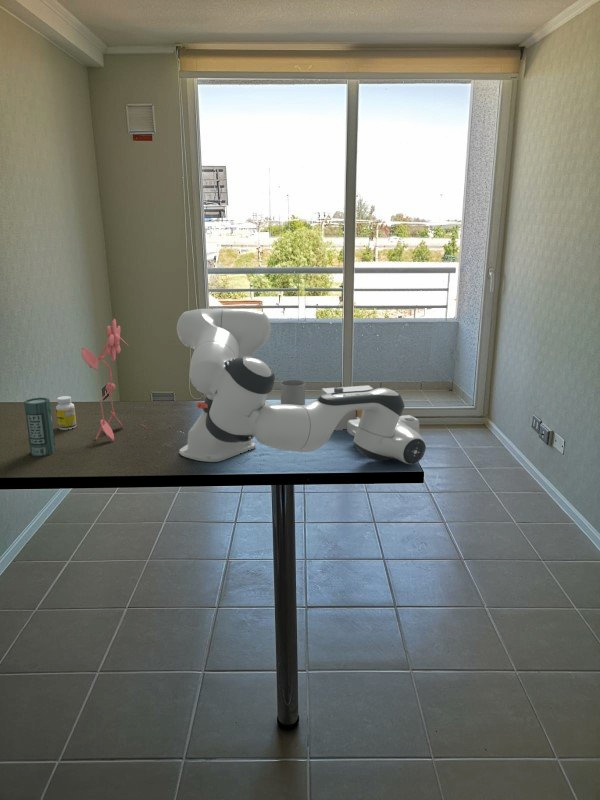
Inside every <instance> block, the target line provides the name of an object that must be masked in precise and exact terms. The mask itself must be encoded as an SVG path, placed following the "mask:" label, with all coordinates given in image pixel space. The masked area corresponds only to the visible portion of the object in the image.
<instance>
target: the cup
mask: <svg viewBox="0 0 600 800" xmlns="http://www.w3.org/2000/svg"><path fill="white" fill-rule="evenodd" d="M280 404H293V405H306V381H303V380H299V379H286V380H282V381H281V382H280Z"/></svg>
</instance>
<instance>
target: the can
mask: <svg viewBox="0 0 600 800" xmlns="http://www.w3.org/2000/svg"><path fill="white" fill-rule="evenodd" d="M23 403H24V404H23V405H24V410H25V411H24V412H25V420H26V426H27V434H28V435H27V436H28V442H29V449H30V455H31V456H34V457H46V456H49V455H50V456H51V454H52V455H53V454H54V453H55V452H56V443H55V434H54V427H53V425H54V424H53V419H52V411H51V401H50V398H48V397H33V398H29V399H26V400H24V401H23Z"/></svg>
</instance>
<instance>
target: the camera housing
mask: <svg viewBox="0 0 600 800" xmlns="http://www.w3.org/2000/svg"><path fill="white" fill-rule="evenodd" d="M370 389H374V388H373V387H372V386H371V385H358V386H357V385H355V386H340V387H327V388H325V387H323V388H321V395H323V394H328V393H336V392H349V391H364V390H370ZM356 417H357V410H352V411H349V412H348V413H346V414H345V415H344V416H343V418H342V419H341V420H340V422H339V423H338V425H337V426H336V428H335V429H334V430H336V431H344V430H343V429H347V422H348V421H349V420H355V419H356Z"/></svg>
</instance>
